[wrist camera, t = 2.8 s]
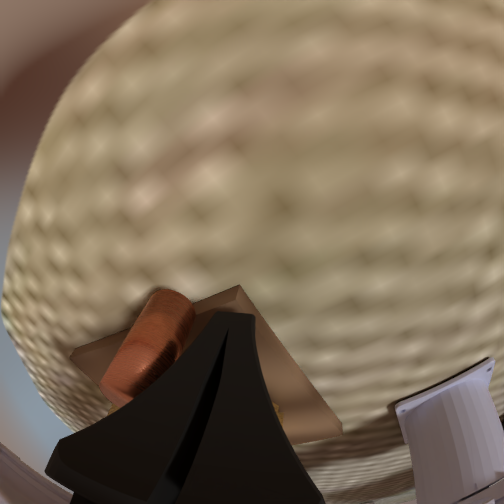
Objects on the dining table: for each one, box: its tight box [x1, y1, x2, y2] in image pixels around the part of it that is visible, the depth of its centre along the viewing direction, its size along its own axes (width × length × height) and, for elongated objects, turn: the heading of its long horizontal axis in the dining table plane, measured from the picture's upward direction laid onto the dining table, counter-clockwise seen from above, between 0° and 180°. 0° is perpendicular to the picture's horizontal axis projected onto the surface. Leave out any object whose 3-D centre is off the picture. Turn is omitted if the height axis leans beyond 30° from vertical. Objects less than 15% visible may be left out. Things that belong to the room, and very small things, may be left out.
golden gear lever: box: [99, 289, 284, 428], centre depth 12 cm, size 15×10×4 cm, turn 0°
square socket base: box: [70, 285, 343, 445], centre depth 14 cm, size 14×14×6 cm
